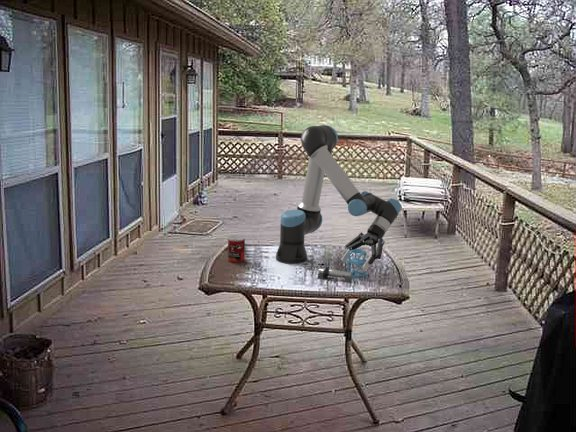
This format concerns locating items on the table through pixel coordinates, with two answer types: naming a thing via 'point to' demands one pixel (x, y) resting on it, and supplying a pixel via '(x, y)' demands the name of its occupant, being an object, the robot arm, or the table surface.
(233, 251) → the canned food
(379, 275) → the table surface
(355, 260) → the chair
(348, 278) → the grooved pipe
